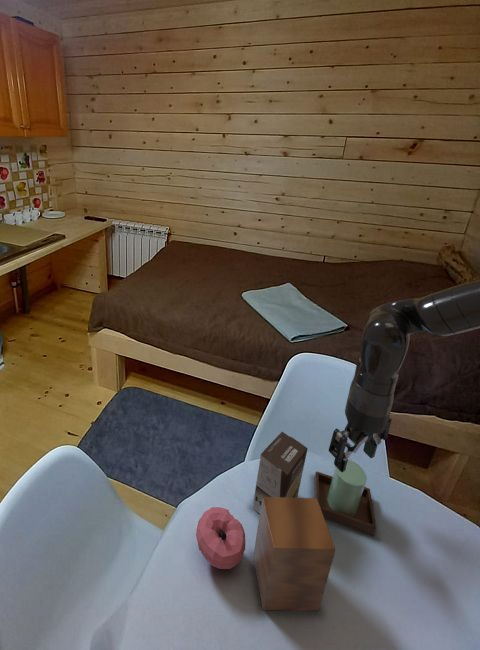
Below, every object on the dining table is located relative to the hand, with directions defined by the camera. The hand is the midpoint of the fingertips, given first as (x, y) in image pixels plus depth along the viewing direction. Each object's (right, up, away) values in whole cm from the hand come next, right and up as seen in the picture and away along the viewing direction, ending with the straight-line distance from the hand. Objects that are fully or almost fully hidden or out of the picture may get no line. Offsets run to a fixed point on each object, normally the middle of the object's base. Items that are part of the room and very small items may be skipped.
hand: (354, 461), depth 73 cm
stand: (-18, -17, -9) cm, 26 cm away
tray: (0, -13, +4) cm, 14 cm away
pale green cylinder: (-1, -12, +4) cm, 13 cm away
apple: (-30, -16, -5) cm, 34 cm away
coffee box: (-16, -13, +4) cm, 21 cm away
